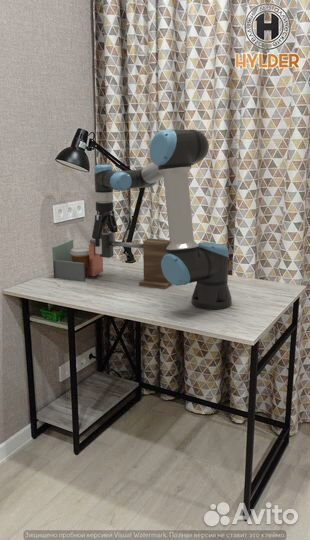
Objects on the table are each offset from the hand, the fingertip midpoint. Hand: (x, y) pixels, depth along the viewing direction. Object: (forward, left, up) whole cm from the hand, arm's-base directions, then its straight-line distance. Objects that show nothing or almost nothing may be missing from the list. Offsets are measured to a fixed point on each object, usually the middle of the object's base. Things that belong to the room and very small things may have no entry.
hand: (105, 250), depth 233 cm
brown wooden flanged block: (0, -24, -13) cm, 27 cm away
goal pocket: (0, +14, -13) cm, 19 cm away
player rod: (0, -7, -11) cm, 13 cm away
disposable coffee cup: (0, +12, -13) cm, 18 cm away
